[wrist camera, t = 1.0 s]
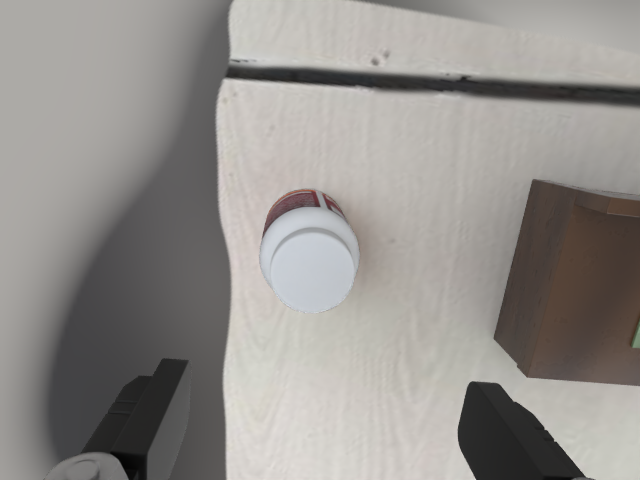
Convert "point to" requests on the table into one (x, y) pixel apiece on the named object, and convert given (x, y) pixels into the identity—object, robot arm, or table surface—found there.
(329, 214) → the pill bottle
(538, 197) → the shelf
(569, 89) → the table surface
